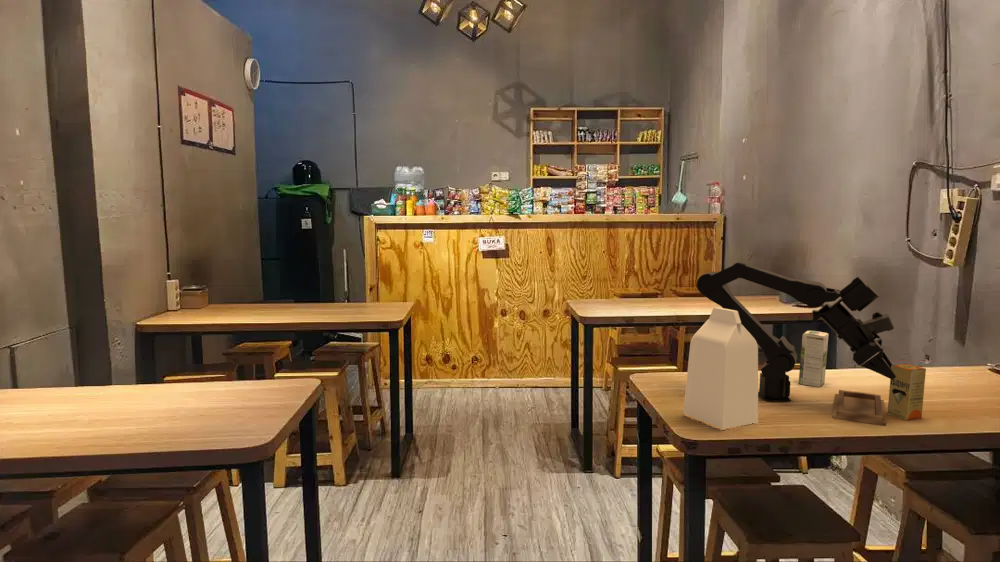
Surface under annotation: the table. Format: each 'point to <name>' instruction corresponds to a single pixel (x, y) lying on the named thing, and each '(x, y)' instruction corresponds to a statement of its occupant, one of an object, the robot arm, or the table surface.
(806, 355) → the syrup box
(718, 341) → the milk
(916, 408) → the shoe polish box
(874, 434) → the table surface
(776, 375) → the robot arm
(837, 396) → the tray
